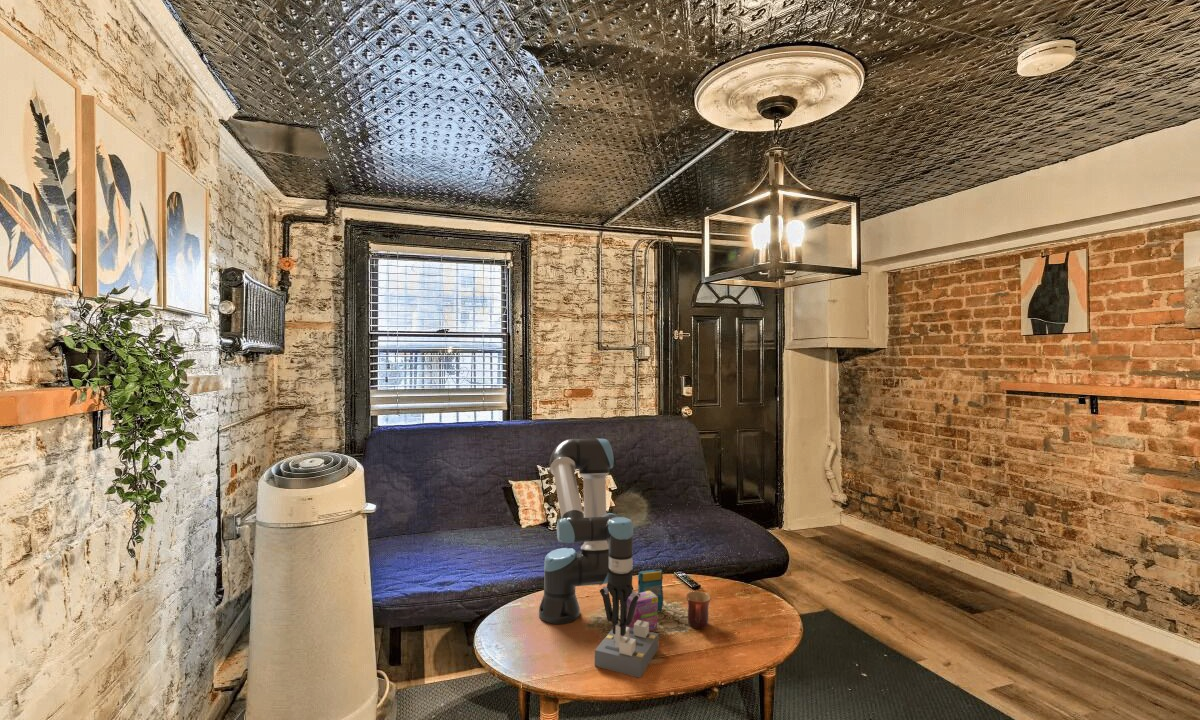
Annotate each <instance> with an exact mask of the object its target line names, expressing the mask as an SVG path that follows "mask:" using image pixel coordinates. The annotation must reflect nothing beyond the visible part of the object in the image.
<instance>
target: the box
mask: <svg viewBox="0 0 1200 720" xmlns="http://www.w3.org/2000/svg"><path fill="white" fill-rule="evenodd" d="M636 593H637V594H638V592H636ZM639 594H640V598H639V599H638V600H637V603H636V607H635V611H634V615H633V619H632V622H631V623H630V624H629V625H628V626H627V625H626V626H627V627H631V628H634V624H635V622H636V621H637V620H641V621H642V620H643V621H645V622H649V632H651V631H654V630H657V629H658V612H657V606H658V596H656V595H655V594H654V593H652V592H651V591H650V590H649V591H645V592H641V593H639ZM631 596H632V595H630V596H629V597H628V598H627V616H628V612H629V608H630V604H631V601H632V599H631Z"/></svg>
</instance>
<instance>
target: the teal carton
mask: <svg viewBox="0 0 1200 720" xmlns="http://www.w3.org/2000/svg"><path fill="white" fill-rule="evenodd" d="M663 578H664V572H663V570H662V569H658V568H657V569H651V570H650V569H649V570H643V571H639V572H638V574H637V581H638V582H637V586H638V587H637V591H638V592H637V593H641V592H645V591H649V590H650V591H651V592H652V593H654V594H655V595H656V596H658V606H657V613H659V612H658V611H661V612H662V611H663V608H664V607H663V605H664V591H663V580H664V579H663Z"/></svg>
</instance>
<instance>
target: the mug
mask: <svg viewBox="0 0 1200 720" xmlns="http://www.w3.org/2000/svg"><path fill="white" fill-rule="evenodd" d="M685 596H686V602H687V622H688V625H689V626H690V627H692V628H693V627H694V629H699V630H700V629H701V630H702V629H705V628H706V627H707V626H708V624H709V621H710V619H709V613H710V612H709V608H710V607H709V606H710V602H711V598H712V597H711V596H710V594H708V593H706V592H704V591H697V590H695V591H689V592H688V593H686V595H685Z"/></svg>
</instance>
